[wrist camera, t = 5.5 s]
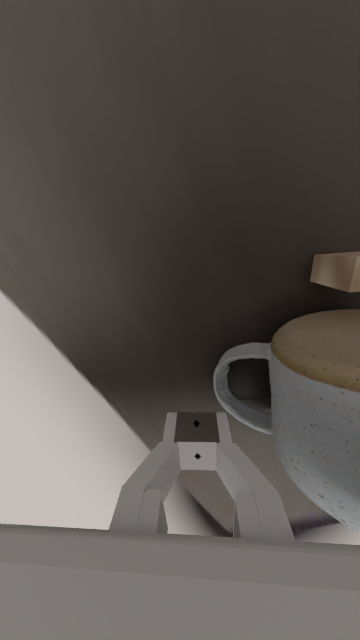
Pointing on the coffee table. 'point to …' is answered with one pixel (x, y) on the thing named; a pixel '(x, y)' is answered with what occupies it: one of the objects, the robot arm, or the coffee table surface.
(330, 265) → the channel walls
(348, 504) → the ceramic mug
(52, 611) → the robot arm
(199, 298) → the coffee table surface
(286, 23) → the coffee table surface
